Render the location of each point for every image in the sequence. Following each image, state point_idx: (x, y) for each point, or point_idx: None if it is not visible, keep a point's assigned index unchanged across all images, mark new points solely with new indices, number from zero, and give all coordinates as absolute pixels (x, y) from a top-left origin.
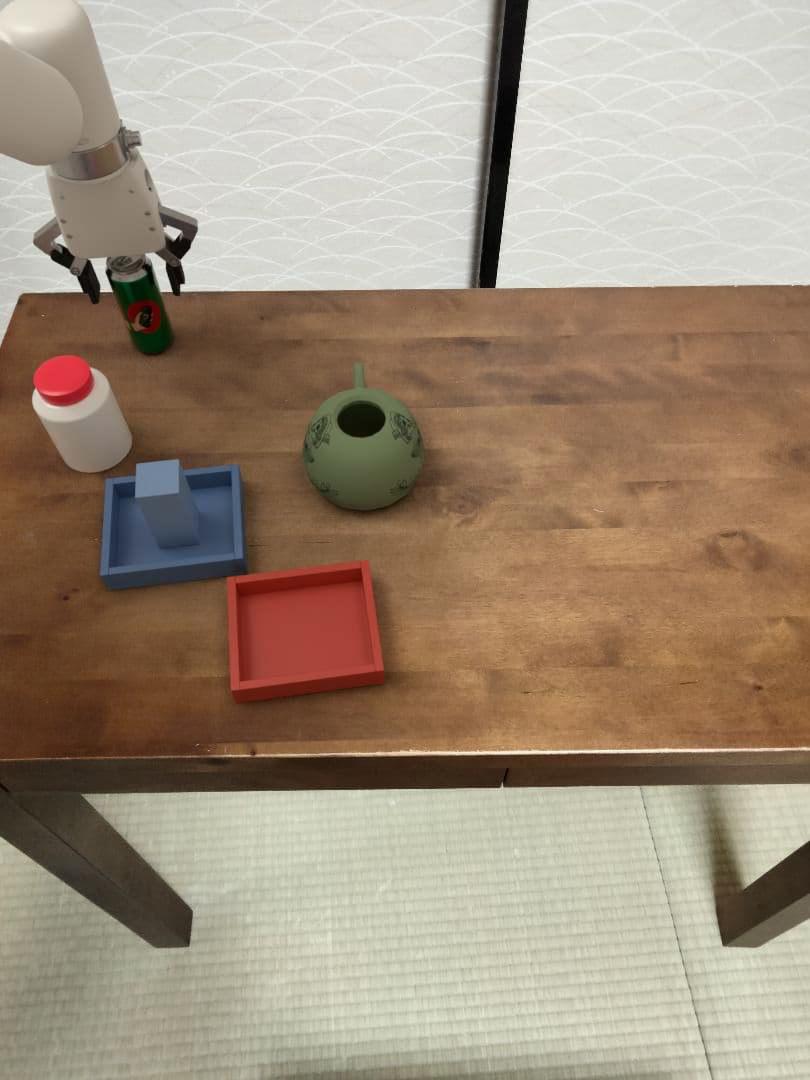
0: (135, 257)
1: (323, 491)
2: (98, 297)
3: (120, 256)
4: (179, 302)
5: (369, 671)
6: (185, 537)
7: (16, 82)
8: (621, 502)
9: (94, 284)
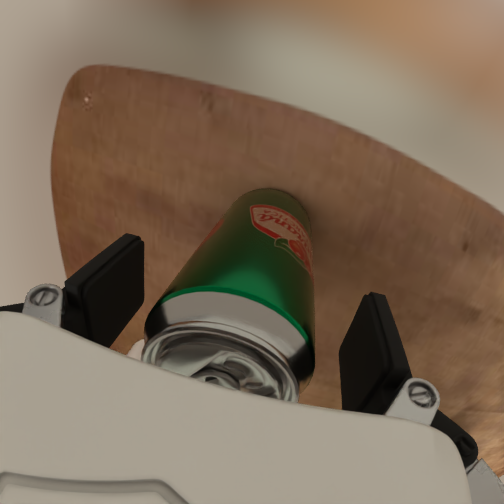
0: (256, 376)
1: None
2: (140, 296)
3: (194, 370)
4: (344, 132)
5: None
6: None
7: None
8: (495, 460)
9: (122, 307)
